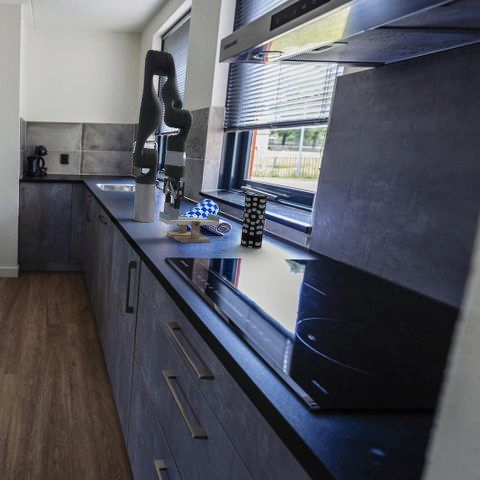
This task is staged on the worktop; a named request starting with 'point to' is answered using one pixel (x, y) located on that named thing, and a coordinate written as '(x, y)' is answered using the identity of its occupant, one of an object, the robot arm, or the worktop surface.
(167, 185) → the robot arm
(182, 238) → the pivot stand
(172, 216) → the steel weight
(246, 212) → the spotted tube
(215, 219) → the beam
